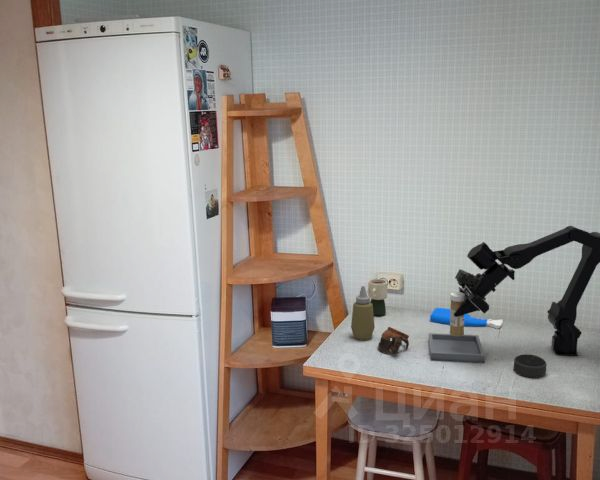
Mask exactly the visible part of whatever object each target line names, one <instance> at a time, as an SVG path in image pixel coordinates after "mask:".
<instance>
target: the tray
mask: <svg viewBox="0 0 600 480" xmlns="http://www.w3.org/2000/svg"><path fill="white" fill-rule="evenodd" d="M428 347H429V348H428V349H429V357H430V361H439V362H456V363H470V362H471V363H473V364H485V361H486V354H485V351H484V348H483V346H482V343H481V339H480V336H479V335H478V334H477V335H476V334H475V335H474V334H464V335H462V336H453V335H451V334H450V333H437V332H436V333H435V332H433V333H432V332H428Z"/></svg>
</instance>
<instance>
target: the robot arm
mask: <svg viewBox="0 0 600 480" xmlns="http://www.w3.org/2000/svg"><path fill="white" fill-rule="evenodd" d="M573 242H577V243H579V244H581V245H582V247H581V258H580V260H579V263H578V265H577V267H576V269H575V270H574V273H573V276H572V277H571V280H569V283H568V285H567V287H566V290H565V292H564V293H563V296H562V298H561V299H560V300H558V302H555V301H551V305H550V307H549V309H548V310H547V312H546V313H547V314H548V315H547V320H548V322H549V323H550V325H552V327H553V329H555V330H554V331H553V333H554V335H552V336H551V345H550V346H551V350H552V351H554V354H556V355H557V356H573V357H575V356H576V357H577V356H579V353H578V352H577V351H578V350H577V349H578V340H579V339H580V337H581V335H582V331H581V330H580V329H579V328H578V327H577V326H576V325H575V323H576V320H577V316H578V315H577V313H578V310H577V308H578V305H579V303H580V301H581V299H582V297H583V294H584V293H585V291H586V288H587V287H588V285H589V283H590V280H591V278H592V276H593V274H594V272H595V270H596V268H597V266H598V265H599V264H600V232H598V231H591V232H590V231H589V232H588V231H586V230H584V229H579V228H577V227H576V226H573V225H568V226H566V227H564V228H562V229H560V230H557V231H555V232H553V233H550V234H548V235H546V236H543V237H540V238H538V239H535V240H533V241H531V242H528V243H520V244H519V243H518V244H515V245H511V246H507V247H504V249H502V250H494V251H493V250H492V249H491V248H490V247H489V245H488V244H487V243H486V242H485V241H482V242H481V243H480V244H477V245H475V246H473V247H472V248H471V249H470V250H469V251H468V253H467V255H466V257H467V258H468V259H469V260H470V261H471V262H472V263H473V264H474V265H475V267H477V268H478V269H479V270H484V271H483V272H482V273H477V274H476V275H474V274H472V273H470V272H468V271H465V270H463V269H461V268H459V270H458V271H457V273H456V275H455V277H454V279H456V281H457V284H458V285H459V287H458V292H461V293H464V294H465V297H464V302H463V304H462V305H461V306H460V307H459V308H458V309H457V311H456V312H455V313H454V316H455V317H458V316H461V315H464V314H471V313H474V312H480V311H481V312H482V313H483V314H486V313H487V312H488V311H489V310H490V304H489V303H488V302H487V301H486V300H487V298H486V297H487V296H488V295H489V294H490V293H491V292H493V293H494V292H496V291H497V289H496V288H497V286H498V285H500V284H501V283H502V282H503V281H505V280H506V278H507V277H509V278H510V279H511V280H512V281H515V273H516V271H515V270H519V269H522V268H523V267H525V266H526V265H528V264H530V263H531V262H532V261H533V260H534V259H536V257H538V256H540V255H542V254H545V253H548V252H550V251H553V250H555V249H557V248H560V247H563V246H565V245H567V244H569V243H573ZM497 260H498V262H499V263H498V262H497ZM507 266H508V267H510V268H511V269H510V268H508V267H507Z"/></svg>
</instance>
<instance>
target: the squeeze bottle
mask: <svg viewBox="0 0 600 480" xmlns="http://www.w3.org/2000/svg"><path fill="white" fill-rule="evenodd" d="M374 316H375V315H374V314H373V304H372V303H371V298H370V297H369V296H368V293H367V291H366V286H364V285H362V286H361V287H360V290H359V295H357V296H355V302H353V306H352V313H351V323H350V328H351V332H352V334H353V337H354V338H355V339H357V340H361V341H363V340H365V341H366V340H370V339H371V338H372V336H373V333H374V332H375V331H374V330H375V326H376V325H375V317H374Z"/></svg>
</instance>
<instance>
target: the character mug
mask: <svg viewBox="0 0 600 480" xmlns="http://www.w3.org/2000/svg"><path fill="white" fill-rule="evenodd" d="M367 282H368V286H367V289H368V292H367V296H369V297H370V302H371V303H372V304H373V314H374V316H384V315H385V314H387V310H386V301H385V299H388V281H387V280H386V279H383V278H371V279H369V280H368V281H367Z"/></svg>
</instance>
